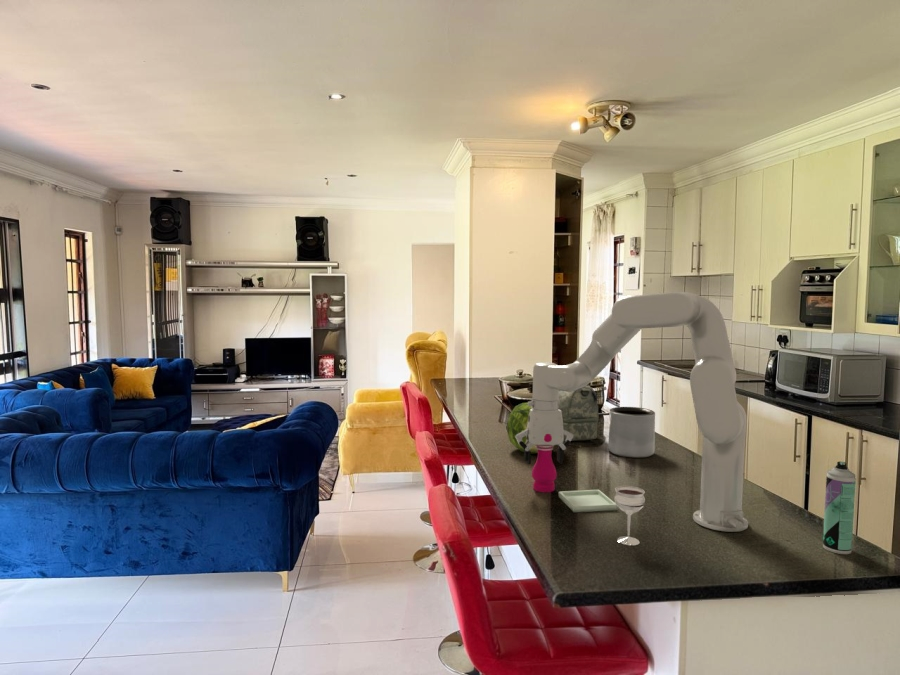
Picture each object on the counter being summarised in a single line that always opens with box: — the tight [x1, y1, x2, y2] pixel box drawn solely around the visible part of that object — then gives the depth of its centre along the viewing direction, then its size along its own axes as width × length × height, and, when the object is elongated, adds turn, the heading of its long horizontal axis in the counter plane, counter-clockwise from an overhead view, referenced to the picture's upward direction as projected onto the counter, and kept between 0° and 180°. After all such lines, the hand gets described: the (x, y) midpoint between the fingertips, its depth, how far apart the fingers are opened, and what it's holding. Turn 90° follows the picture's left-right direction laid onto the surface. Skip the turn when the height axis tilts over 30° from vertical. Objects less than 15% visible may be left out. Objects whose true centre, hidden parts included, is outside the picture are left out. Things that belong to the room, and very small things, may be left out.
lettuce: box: [506, 402, 556, 455], centre depth 213 cm, size 19×23×18 cm
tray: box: [558, 489, 618, 513], centre depth 162 cm, size 12×12×2 cm
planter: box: [607, 406, 656, 459], centre depth 213 cm, size 16×16×16 cm
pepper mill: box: [531, 434, 558, 493], centre depth 173 cm, size 7×7×20 cm
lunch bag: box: [558, 385, 600, 441], centre depth 240 cm, size 26×18×22 cm
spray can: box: [822, 460, 857, 555], centre depth 133 cm, size 6×6×20 cm
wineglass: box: [614, 485, 646, 546], centre depth 137 cm, size 7×7×12 cm
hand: (543, 462), depth 173 cm, fingers open, 9 cm apart
